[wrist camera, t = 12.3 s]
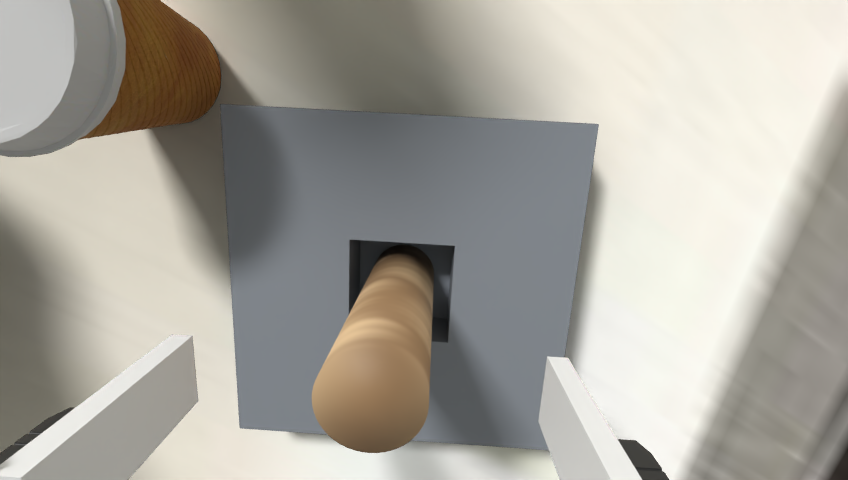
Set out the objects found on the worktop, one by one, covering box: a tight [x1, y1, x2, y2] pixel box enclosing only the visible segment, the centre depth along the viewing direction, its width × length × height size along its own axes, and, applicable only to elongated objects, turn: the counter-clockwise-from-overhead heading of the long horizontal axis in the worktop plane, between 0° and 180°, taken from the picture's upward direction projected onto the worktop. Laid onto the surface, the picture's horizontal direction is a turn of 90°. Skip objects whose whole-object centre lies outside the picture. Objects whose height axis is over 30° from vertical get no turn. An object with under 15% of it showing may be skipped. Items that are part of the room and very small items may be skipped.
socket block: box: [220, 104, 599, 450], centre depth 26 cm, size 20×20×4 cm
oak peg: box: [312, 245, 434, 453], centre depth 21 cm, size 4×4×14 cm
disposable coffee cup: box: [0, 0, 221, 157], centre depth 20 cm, size 10×10×12 cm
